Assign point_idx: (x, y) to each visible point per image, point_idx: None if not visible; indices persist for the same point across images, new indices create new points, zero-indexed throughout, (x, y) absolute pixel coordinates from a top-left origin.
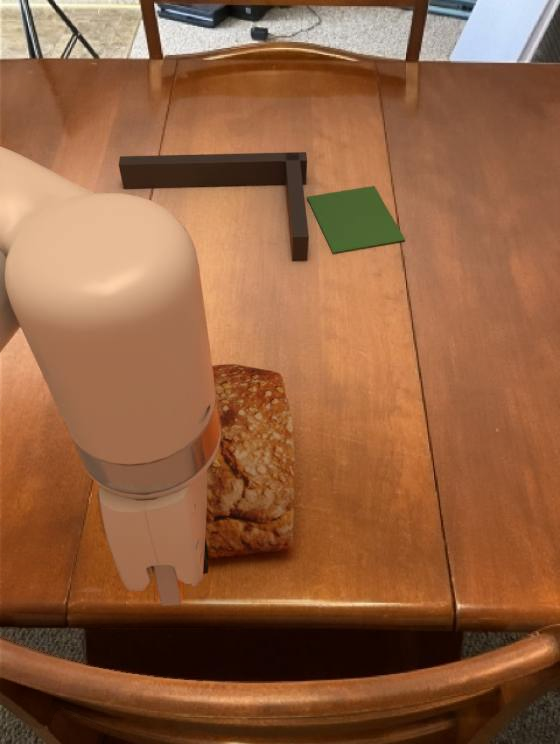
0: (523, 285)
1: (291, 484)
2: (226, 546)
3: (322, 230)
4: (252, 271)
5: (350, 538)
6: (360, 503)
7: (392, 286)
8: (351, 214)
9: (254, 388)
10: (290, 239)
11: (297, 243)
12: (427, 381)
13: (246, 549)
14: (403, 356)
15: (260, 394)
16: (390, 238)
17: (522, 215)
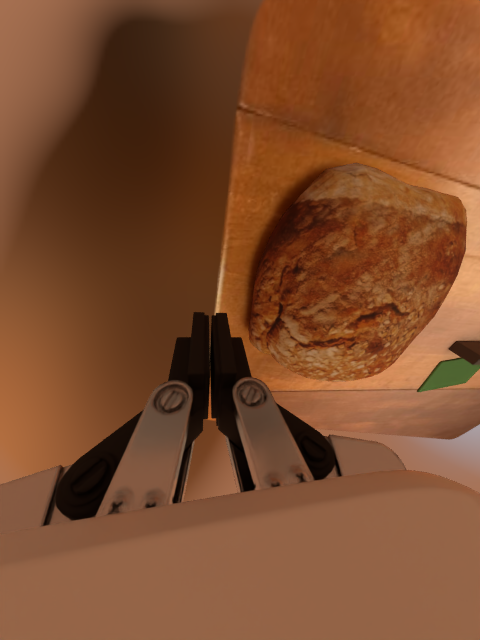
0: (356, 424)
1: (289, 368)
2: (257, 301)
3: (462, 358)
4: (471, 317)
5: (250, 356)
6: (270, 362)
7: (394, 384)
8: (458, 372)
9: (388, 359)
10: (474, 343)
11: (472, 355)
12: (329, 392)
13: (253, 311)
14: (349, 385)
15: (380, 365)
16: (424, 387)
17: (391, 426)
